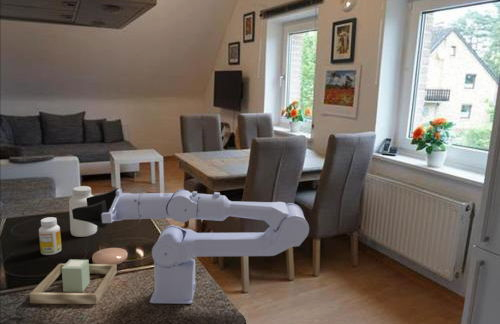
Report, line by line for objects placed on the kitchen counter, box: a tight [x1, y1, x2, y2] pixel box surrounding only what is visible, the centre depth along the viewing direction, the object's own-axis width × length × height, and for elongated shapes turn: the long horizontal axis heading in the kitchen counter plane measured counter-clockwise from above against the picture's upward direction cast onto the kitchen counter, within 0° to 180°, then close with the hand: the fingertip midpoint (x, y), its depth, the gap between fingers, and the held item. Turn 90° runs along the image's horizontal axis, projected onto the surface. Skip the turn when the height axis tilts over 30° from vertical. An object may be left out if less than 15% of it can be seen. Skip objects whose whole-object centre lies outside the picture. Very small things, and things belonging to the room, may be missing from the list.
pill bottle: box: [68, 185, 98, 238], centre depth 124 cm, size 8×8×15 cm
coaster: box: [91, 247, 128, 265], centre depth 108 cm, size 9×9×1 cm
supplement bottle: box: [38, 216, 62, 256], centre depth 111 cm, size 5×5×10 cm
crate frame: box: [29, 263, 118, 305], centre depth 93 cm, size 15×15×2 cm
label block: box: [61, 258, 91, 293], centre depth 93 cm, size 4×4×6 cm
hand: (80, 207), depth 87 cm, fingers open, 7 cm apart
